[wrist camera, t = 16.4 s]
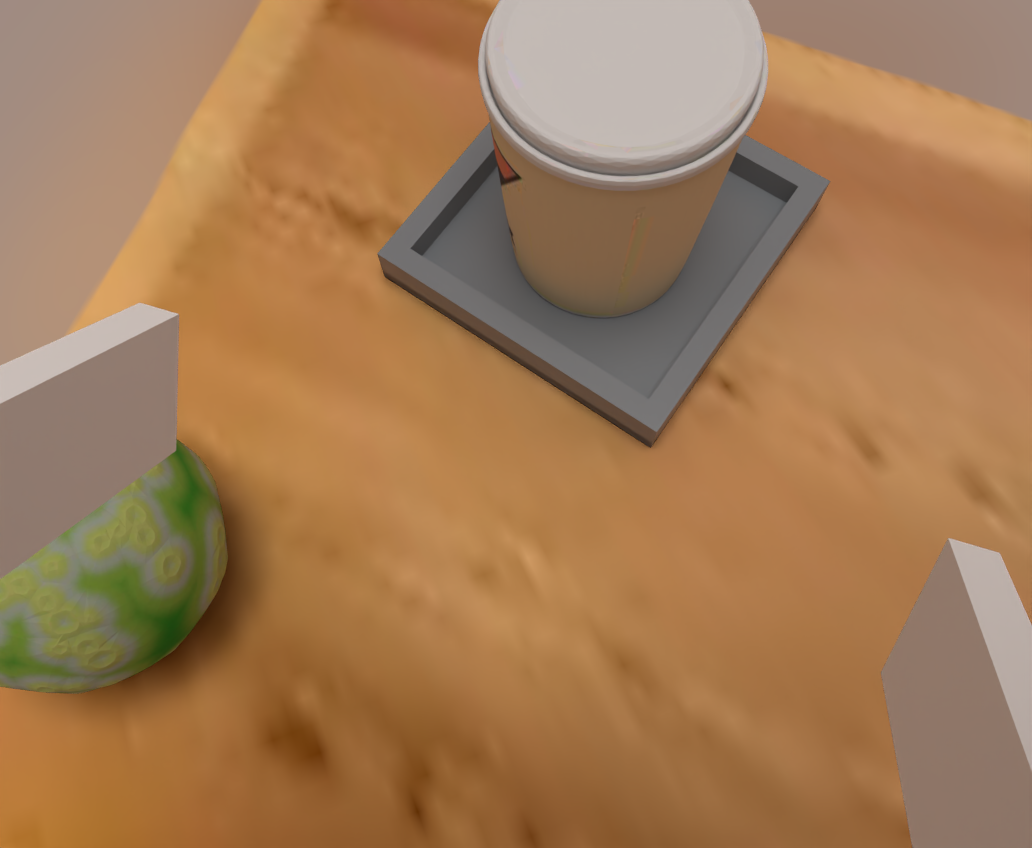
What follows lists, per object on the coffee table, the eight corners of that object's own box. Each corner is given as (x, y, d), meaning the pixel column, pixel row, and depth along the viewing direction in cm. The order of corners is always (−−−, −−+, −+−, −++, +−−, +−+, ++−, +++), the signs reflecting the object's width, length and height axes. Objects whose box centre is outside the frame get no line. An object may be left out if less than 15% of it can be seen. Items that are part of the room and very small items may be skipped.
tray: (816, 207, 40) (830, 181, 38) (650, 447, 37) (657, 432, 35) (561, 66, 43) (563, 35, 41) (384, 276, 40) (377, 253, 38)
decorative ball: (211, 728, 34) (84, 726, 24) (-29, 661, 34) (-241, 634, 25) (296, 483, 37) (213, 395, 27) (74, 428, 38) (-81, 325, 28)
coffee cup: (535, 128, 41) (534, -100, 30) (730, 185, 40) (806, -31, 29) (463, 298, 39) (432, 118, 27) (670, 365, 37) (728, 205, 26)
